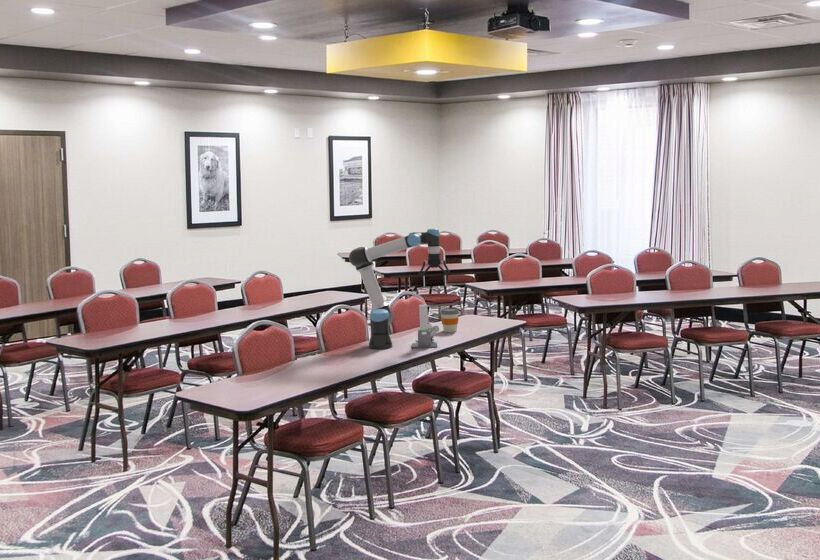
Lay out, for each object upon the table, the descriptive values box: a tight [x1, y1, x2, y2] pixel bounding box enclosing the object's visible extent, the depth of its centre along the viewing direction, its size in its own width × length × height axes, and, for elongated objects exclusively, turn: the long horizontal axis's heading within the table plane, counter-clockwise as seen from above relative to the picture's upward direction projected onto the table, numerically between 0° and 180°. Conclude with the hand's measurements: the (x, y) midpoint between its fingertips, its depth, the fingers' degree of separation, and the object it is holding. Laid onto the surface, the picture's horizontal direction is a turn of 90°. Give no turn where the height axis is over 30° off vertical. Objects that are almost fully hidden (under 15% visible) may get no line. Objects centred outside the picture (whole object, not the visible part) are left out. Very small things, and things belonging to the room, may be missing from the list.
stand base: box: [411, 329, 438, 349], centre depth 550 cm, size 16×12×10 cm
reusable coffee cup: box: [440, 307, 460, 333], centre depth 600 cm, size 13×13×15 cm
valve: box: [428, 323, 440, 340], centre depth 566 cm, size 10×18×15 cm
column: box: [418, 304, 429, 332], centre depth 548 cm, size 5×5×18 cm
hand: (435, 286), depth 556 cm, fingers open, 13 cm apart
